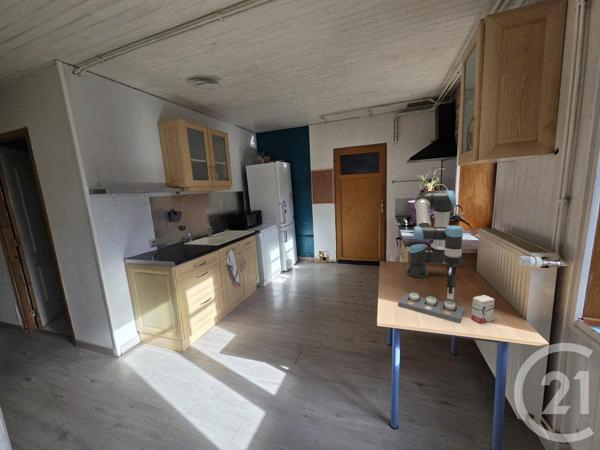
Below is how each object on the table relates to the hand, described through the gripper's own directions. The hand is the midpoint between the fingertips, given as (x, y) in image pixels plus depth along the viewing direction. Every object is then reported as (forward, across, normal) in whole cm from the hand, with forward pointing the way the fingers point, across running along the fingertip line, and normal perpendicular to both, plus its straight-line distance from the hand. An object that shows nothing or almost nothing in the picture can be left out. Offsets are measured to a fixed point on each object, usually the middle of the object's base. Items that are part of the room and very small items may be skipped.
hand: (450, 298), depth 129 cm
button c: (+6, 0, 0) cm, 6 cm away
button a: (+6, 0, -18) cm, 19 cm away
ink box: (+8, -1, +14) cm, 16 cm away
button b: (+6, 0, -9) cm, 11 cm away
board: (+8, +2, -9) cm, 12 cm away
